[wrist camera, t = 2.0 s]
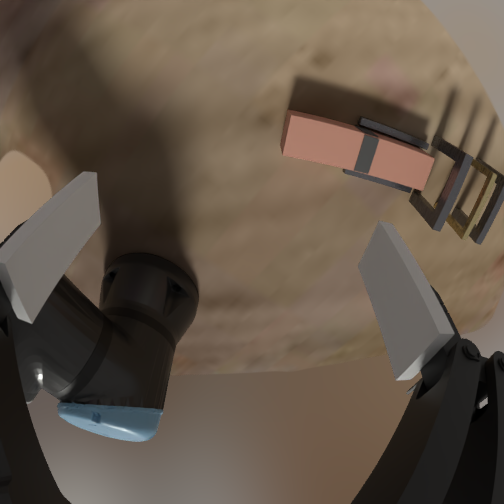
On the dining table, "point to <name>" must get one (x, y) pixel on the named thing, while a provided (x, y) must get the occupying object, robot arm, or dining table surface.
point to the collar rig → (448, 188)
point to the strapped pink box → (354, 149)
